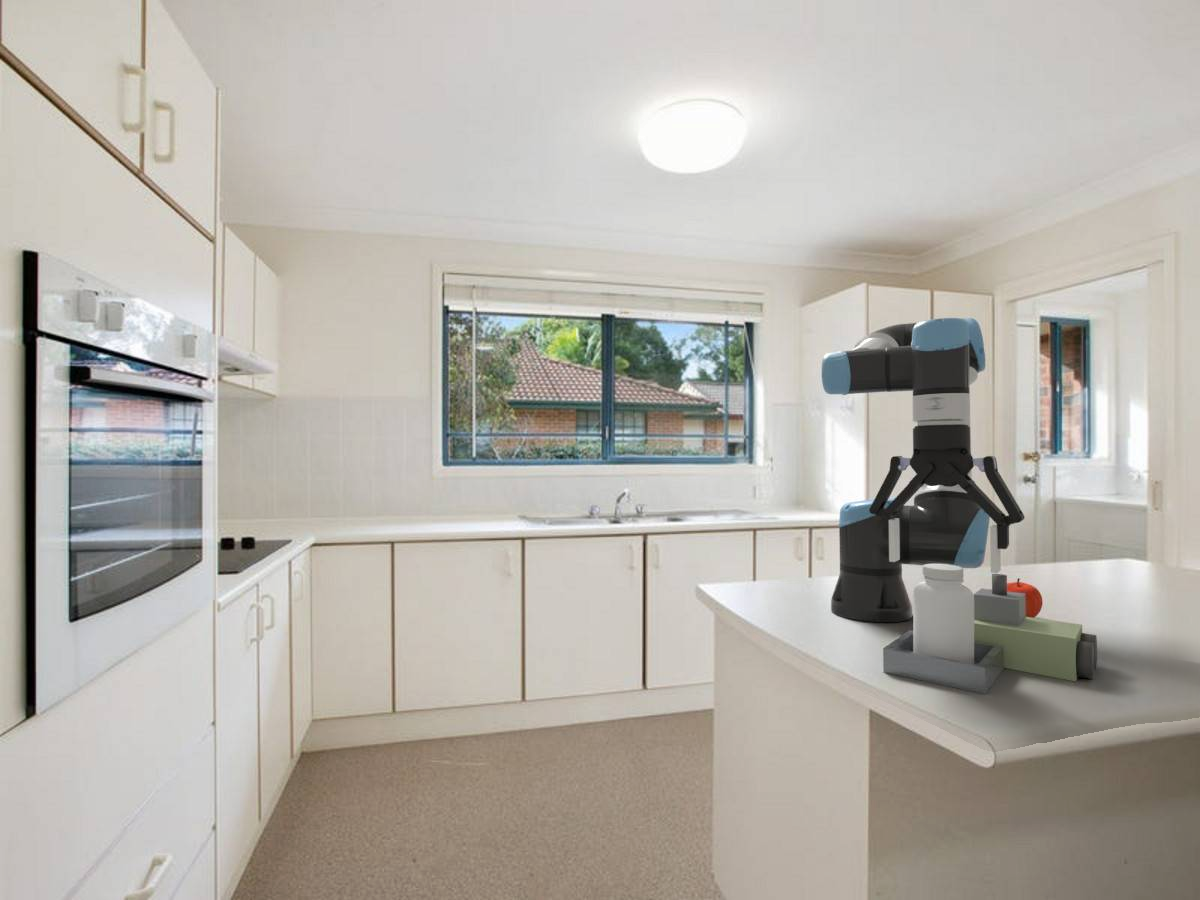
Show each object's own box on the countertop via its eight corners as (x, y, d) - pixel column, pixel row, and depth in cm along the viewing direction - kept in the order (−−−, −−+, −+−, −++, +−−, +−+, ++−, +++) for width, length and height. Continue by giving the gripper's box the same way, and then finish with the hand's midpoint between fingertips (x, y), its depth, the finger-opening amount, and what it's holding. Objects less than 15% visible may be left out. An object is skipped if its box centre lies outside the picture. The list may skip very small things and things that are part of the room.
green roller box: (923, 652, 101) (922, 572, 101) (941, 637, 109) (940, 563, 109) (1091, 684, 86) (1089, 590, 87) (1097, 664, 95) (1096, 579, 95)
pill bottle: (949, 680, 87) (948, 572, 87) (901, 662, 94) (900, 564, 94) (987, 671, 90) (986, 568, 90) (937, 655, 97) (936, 560, 98)
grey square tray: (883, 672, 92) (883, 648, 92) (910, 651, 101) (909, 630, 101) (985, 694, 83) (984, 667, 83) (1003, 669, 93) (1003, 646, 93)
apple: (1045, 618, 122) (1045, 577, 122) (1040, 626, 116) (1039, 583, 116) (998, 611, 128) (997, 572, 128) (990, 619, 122) (990, 578, 122)
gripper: (847, 426, 98) (849, 560, 98) (1038, 420, 81) (1040, 581, 82) (864, 426, 104) (865, 553, 104) (1046, 421, 87) (1048, 572, 87)
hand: (942, 566), depth 93 cm, fingers open, 13 cm apart
